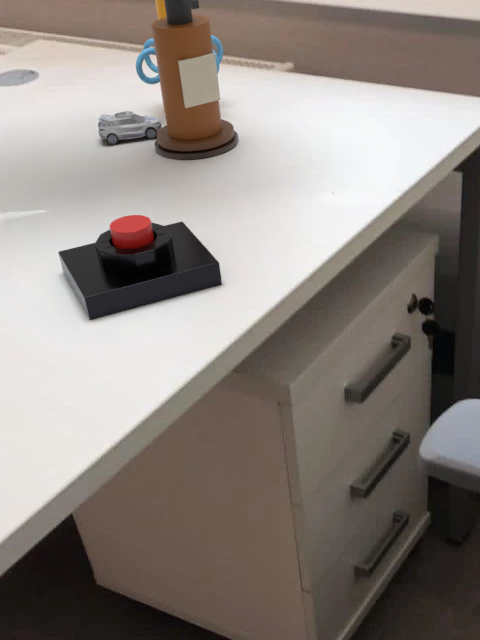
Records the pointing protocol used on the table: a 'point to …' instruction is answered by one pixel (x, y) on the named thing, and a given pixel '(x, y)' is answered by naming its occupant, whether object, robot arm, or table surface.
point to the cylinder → (148, 51)
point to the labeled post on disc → (188, 80)
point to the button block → (139, 270)
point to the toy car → (127, 126)
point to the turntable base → (197, 154)
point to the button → (131, 232)
